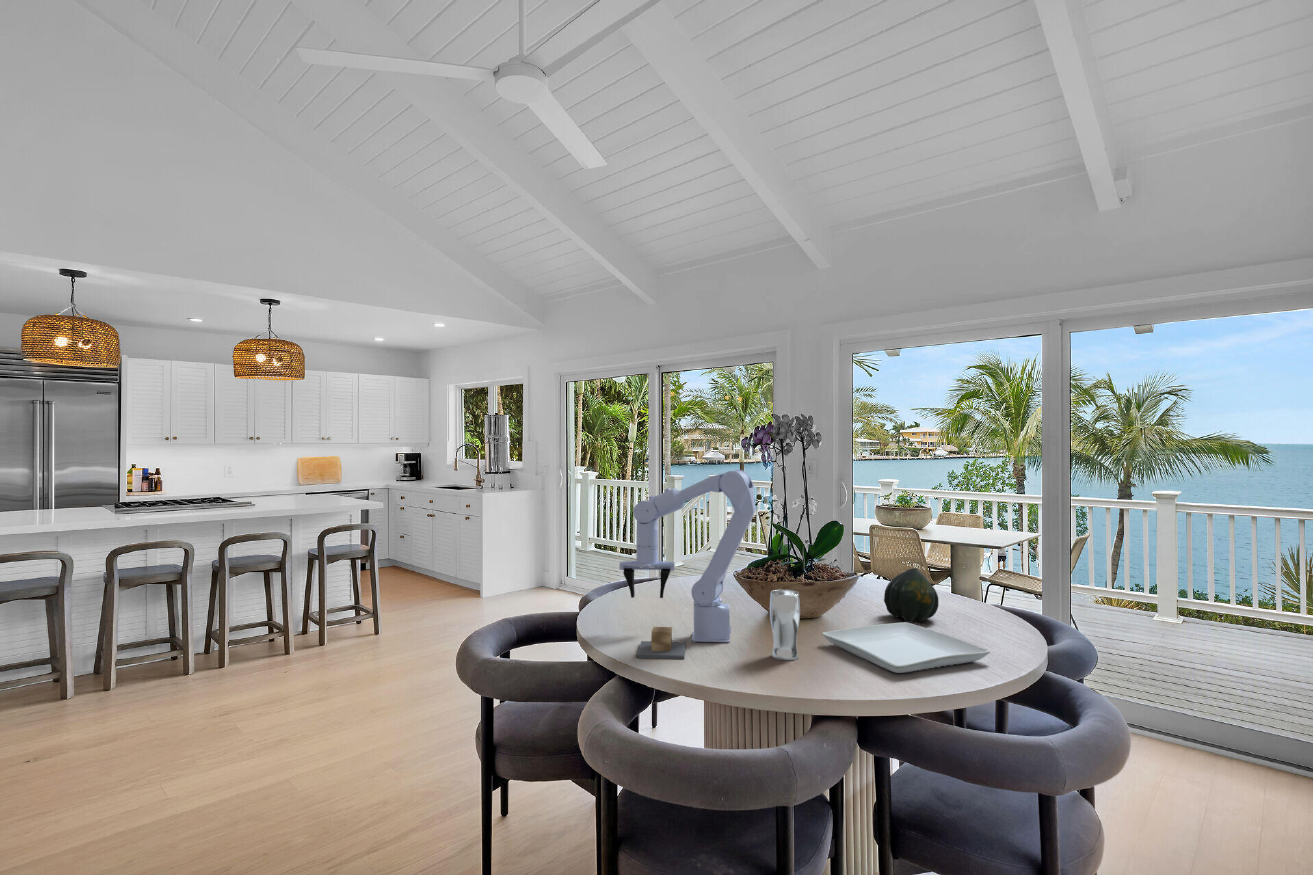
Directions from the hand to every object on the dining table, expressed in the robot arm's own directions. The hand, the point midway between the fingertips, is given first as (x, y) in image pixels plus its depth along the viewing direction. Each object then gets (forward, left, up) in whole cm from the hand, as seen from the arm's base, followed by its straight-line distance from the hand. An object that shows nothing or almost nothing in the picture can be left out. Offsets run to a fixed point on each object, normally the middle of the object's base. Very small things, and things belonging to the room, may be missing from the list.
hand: (647, 597), depth 176 cm
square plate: (-62, +14, -10) cm, 64 cm away
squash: (-74, -20, -10) cm, 77 cm away
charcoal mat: (-5, +16, -9) cm, 19 cm away
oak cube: (-5, +16, -9) cm, 19 cm away
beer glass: (-34, +18, -10) cm, 40 cm away
